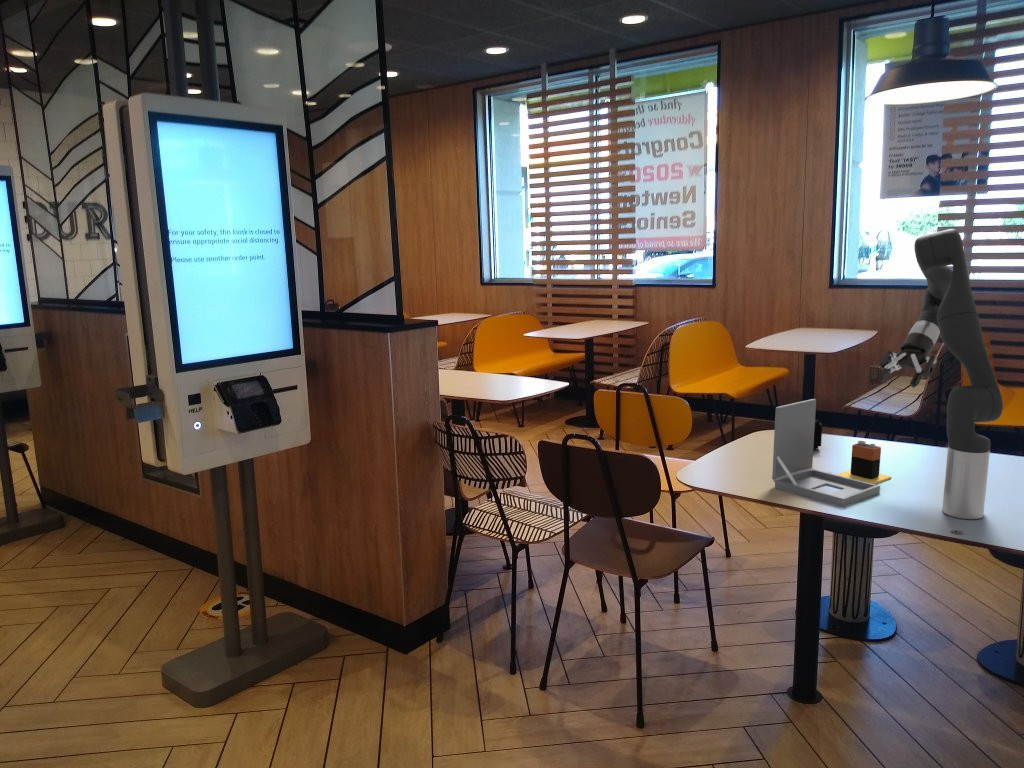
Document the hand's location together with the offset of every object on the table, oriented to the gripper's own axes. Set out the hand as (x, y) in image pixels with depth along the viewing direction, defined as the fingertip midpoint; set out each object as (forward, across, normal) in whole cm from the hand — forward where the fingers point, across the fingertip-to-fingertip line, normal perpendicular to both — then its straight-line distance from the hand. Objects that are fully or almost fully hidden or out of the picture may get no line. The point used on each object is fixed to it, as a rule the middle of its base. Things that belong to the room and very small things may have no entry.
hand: (897, 383), depth 226 cm
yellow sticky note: (+23, -6, +18) cm, 29 cm away
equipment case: (+36, -6, +4) cm, 37 cm away
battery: (+22, -6, +18) cm, 29 cm away
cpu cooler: (+12, -36, +29) cm, 48 cm away
